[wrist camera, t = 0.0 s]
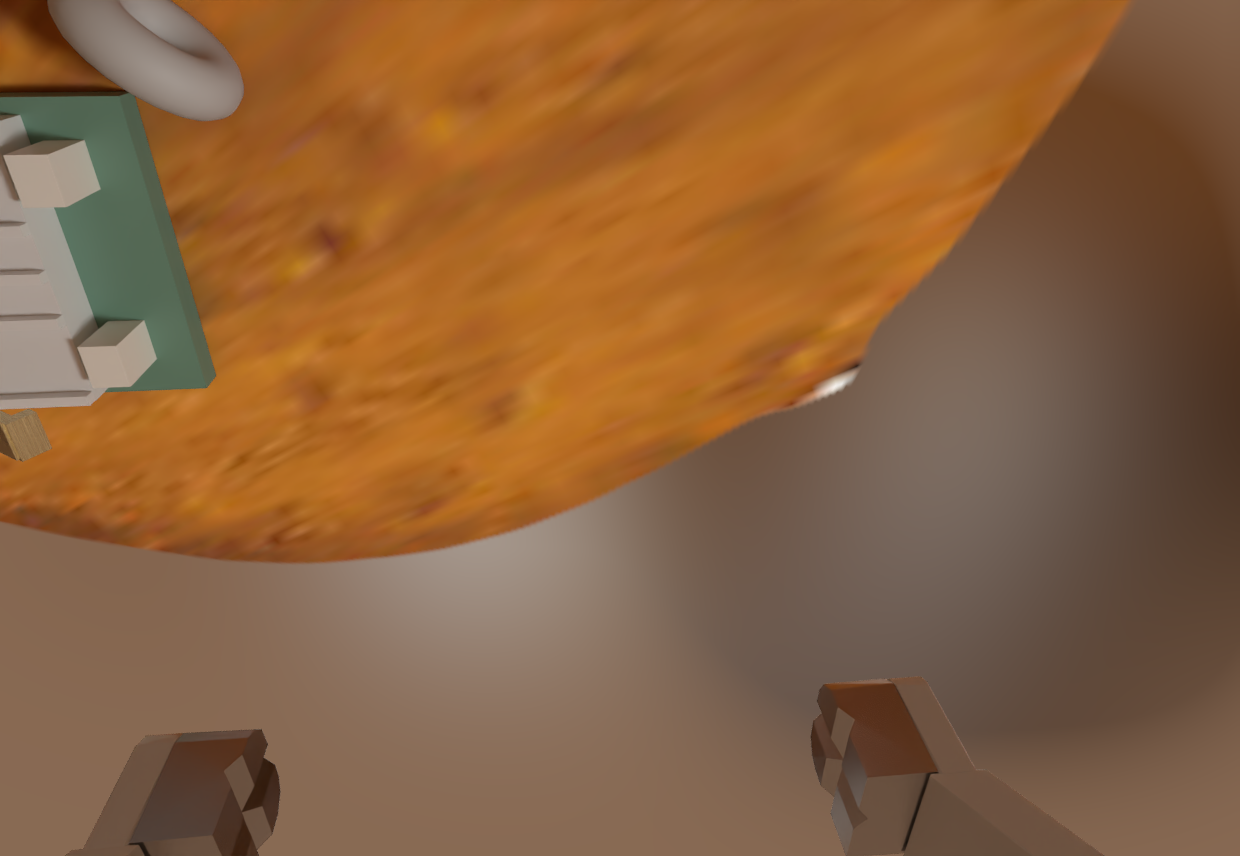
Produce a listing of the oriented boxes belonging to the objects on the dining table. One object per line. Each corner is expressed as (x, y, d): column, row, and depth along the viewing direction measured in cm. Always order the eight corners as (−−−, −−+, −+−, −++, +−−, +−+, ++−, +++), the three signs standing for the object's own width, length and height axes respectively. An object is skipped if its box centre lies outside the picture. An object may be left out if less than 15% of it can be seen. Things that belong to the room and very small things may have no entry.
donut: (91, -2, 46) (-9, 6, 38) (118, -52, 45) (23, -55, 37) (246, 118, 50) (188, 150, 42) (275, 75, 49) (222, 99, 41)
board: (-196, 94, 47) (-310, 114, 41) (133, 91, 49) (73, 110, 43) (-52, 386, 58) (-125, 439, 51) (216, 375, 59) (178, 425, 53)
